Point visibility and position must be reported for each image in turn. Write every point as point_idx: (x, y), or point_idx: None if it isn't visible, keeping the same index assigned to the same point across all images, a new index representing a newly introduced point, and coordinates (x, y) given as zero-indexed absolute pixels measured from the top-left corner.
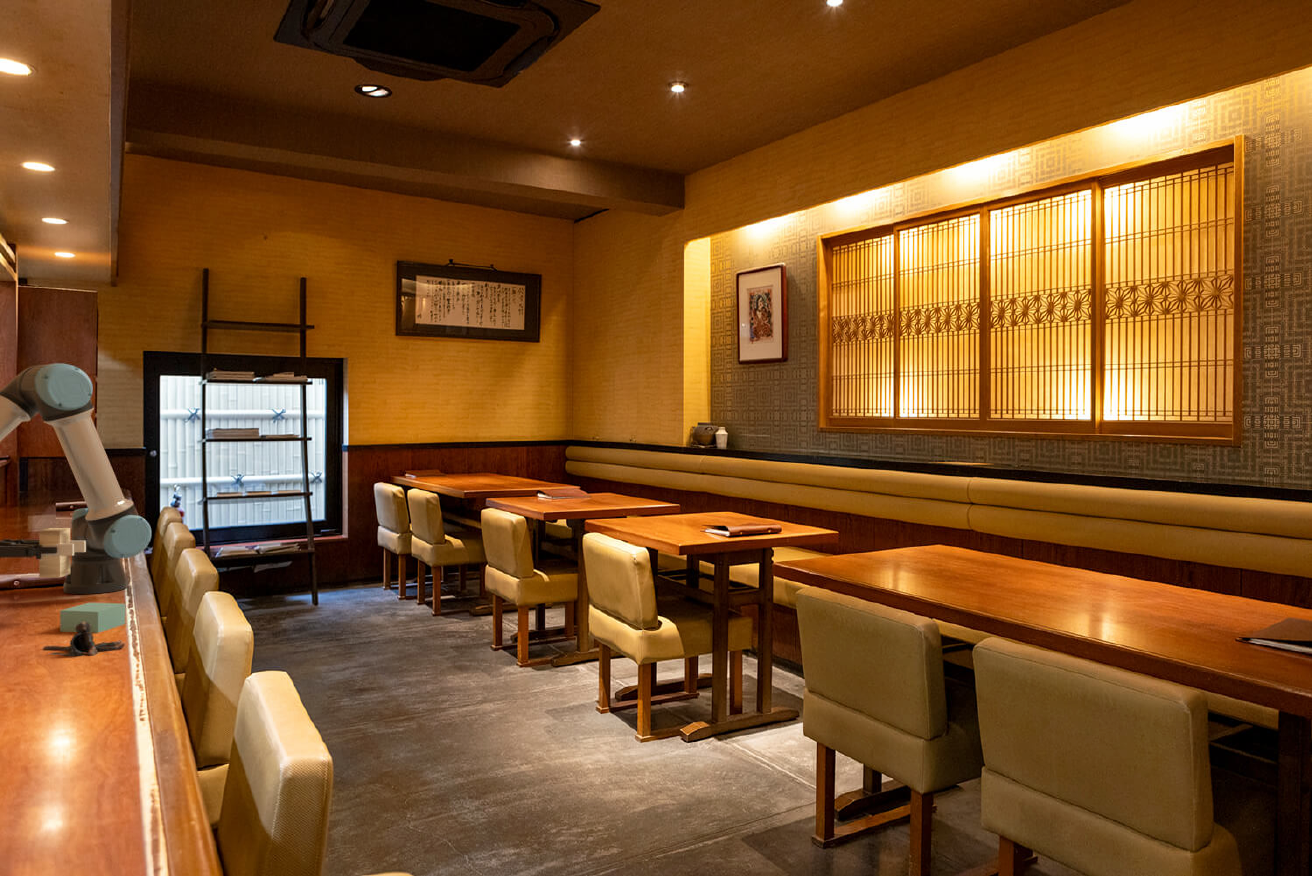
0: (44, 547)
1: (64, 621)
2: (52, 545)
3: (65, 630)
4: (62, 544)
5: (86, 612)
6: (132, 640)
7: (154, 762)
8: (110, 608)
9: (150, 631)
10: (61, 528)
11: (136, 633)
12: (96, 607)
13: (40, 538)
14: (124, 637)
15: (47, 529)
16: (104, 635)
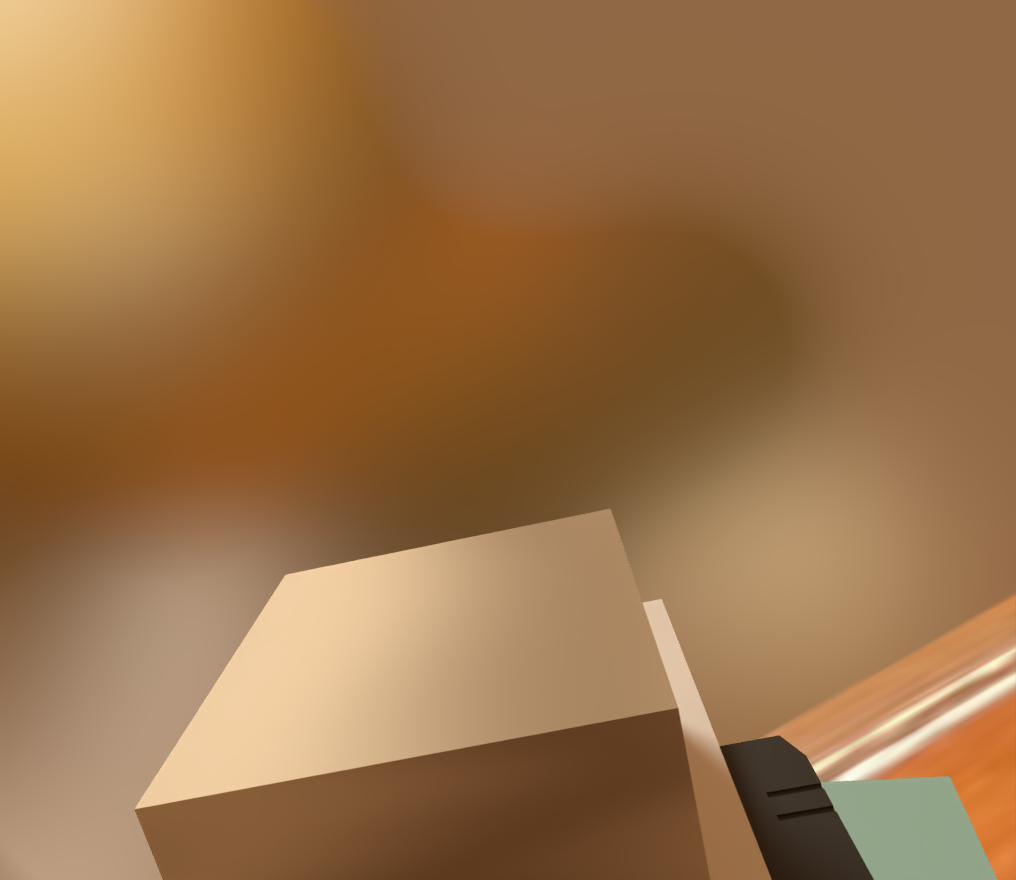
0: (830, 863)
1: None
2: (728, 770)
3: None
4: (686, 666)
5: (978, 845)
6: (995, 684)
7: None
8: (826, 782)
9: (818, 716)
10: (296, 624)
11: (876, 737)
12: None
13: (702, 870)
14: (969, 733)
15: (434, 700)
16: (989, 824)
